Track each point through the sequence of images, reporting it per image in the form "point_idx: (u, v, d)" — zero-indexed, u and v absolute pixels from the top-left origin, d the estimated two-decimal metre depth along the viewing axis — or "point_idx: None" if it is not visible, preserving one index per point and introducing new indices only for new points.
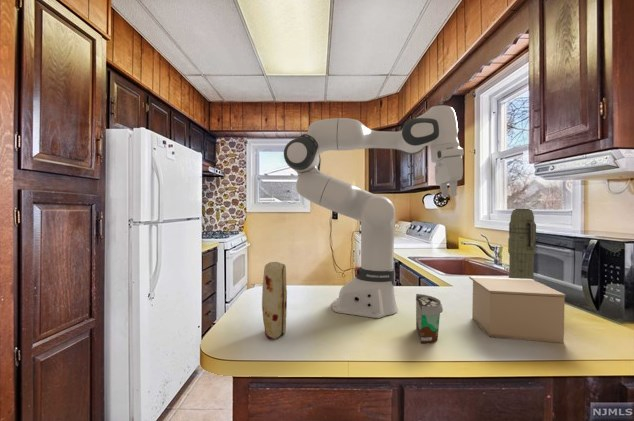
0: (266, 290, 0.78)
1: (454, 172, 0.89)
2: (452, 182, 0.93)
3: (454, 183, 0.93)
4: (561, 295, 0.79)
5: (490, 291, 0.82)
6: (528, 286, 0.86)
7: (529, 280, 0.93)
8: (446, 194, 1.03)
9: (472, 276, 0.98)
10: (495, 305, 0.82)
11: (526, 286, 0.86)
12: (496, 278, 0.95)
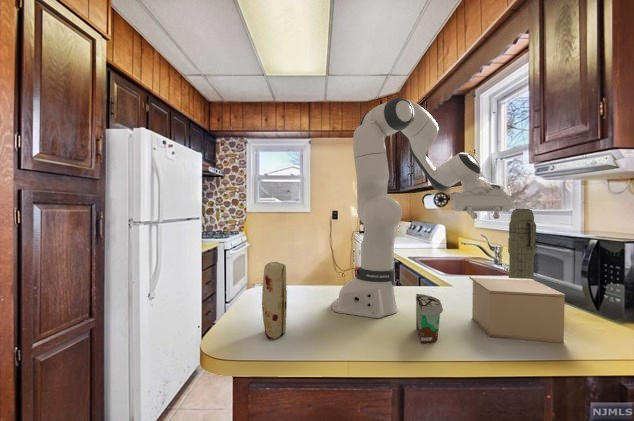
0: (266, 290, 0.78)
1: None
2: None
3: None
4: (561, 295, 0.79)
5: (490, 291, 0.82)
6: (528, 286, 0.86)
7: (529, 280, 0.93)
8: None
9: (472, 276, 0.98)
10: (495, 305, 0.82)
11: (526, 286, 0.86)
12: (496, 278, 0.95)
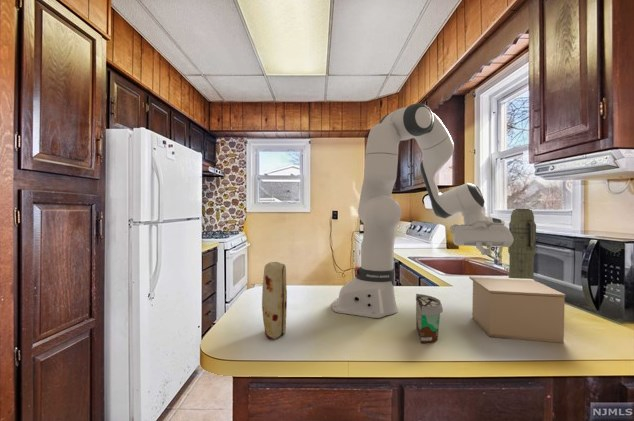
0: (266, 290, 0.78)
1: None
2: None
3: None
4: (561, 295, 0.79)
5: (490, 291, 0.82)
6: (528, 286, 0.86)
7: (529, 280, 0.93)
8: None
9: (472, 276, 0.98)
10: (495, 305, 0.82)
11: (526, 286, 0.86)
12: (496, 278, 0.95)
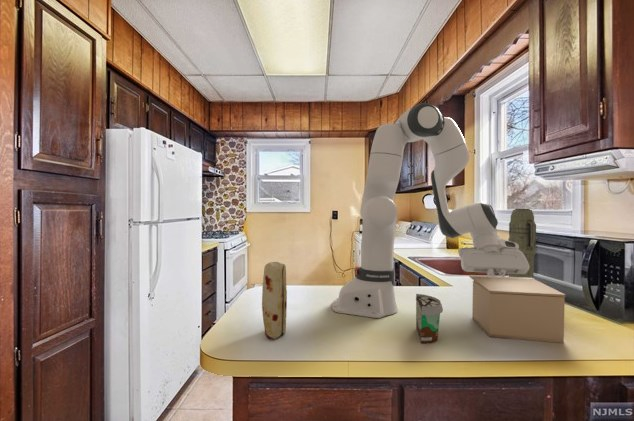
0: (266, 290, 0.78)
1: None
2: None
3: None
4: (561, 295, 0.79)
5: (490, 291, 0.82)
6: (528, 285, 0.86)
7: (529, 279, 0.93)
8: None
9: (472, 275, 0.98)
10: (495, 305, 0.82)
11: (526, 285, 0.86)
12: (496, 277, 0.95)
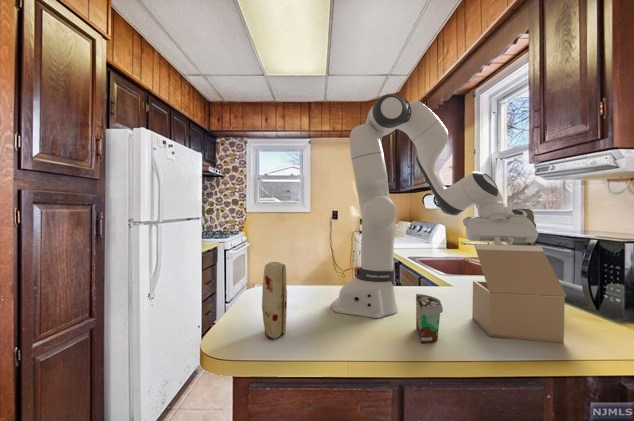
0: (266, 290, 0.78)
1: None
2: None
3: None
4: (562, 296, 0.78)
5: (491, 292, 0.81)
6: (533, 272, 0.84)
7: (537, 251, 0.89)
8: None
9: (478, 244, 0.93)
10: (495, 305, 0.82)
11: (530, 272, 0.84)
12: (503, 248, 0.91)
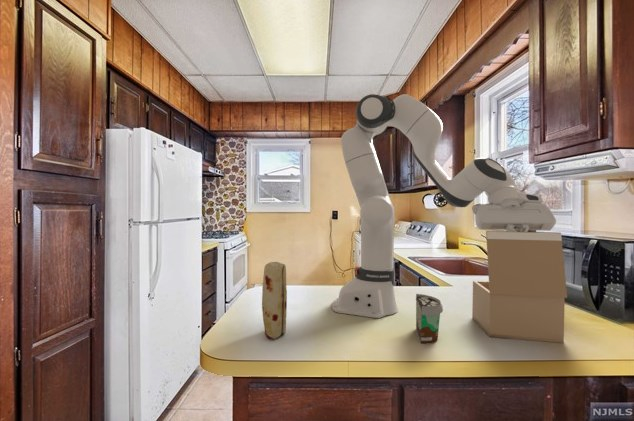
0: (266, 290, 0.78)
1: None
2: None
3: None
4: None
5: None
6: (541, 269, 0.80)
7: (555, 240, 0.81)
8: None
9: (490, 232, 0.84)
10: (495, 305, 0.82)
11: (538, 269, 0.80)
12: (517, 237, 0.82)
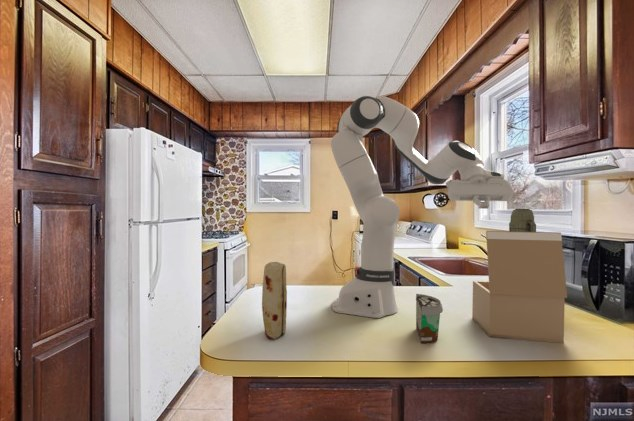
0: (266, 290, 0.78)
1: None
2: None
3: None
4: None
5: None
6: (541, 269, 0.80)
7: (555, 240, 0.81)
8: None
9: (490, 232, 0.84)
10: (495, 305, 0.82)
11: (539, 269, 0.80)
12: (517, 237, 0.82)
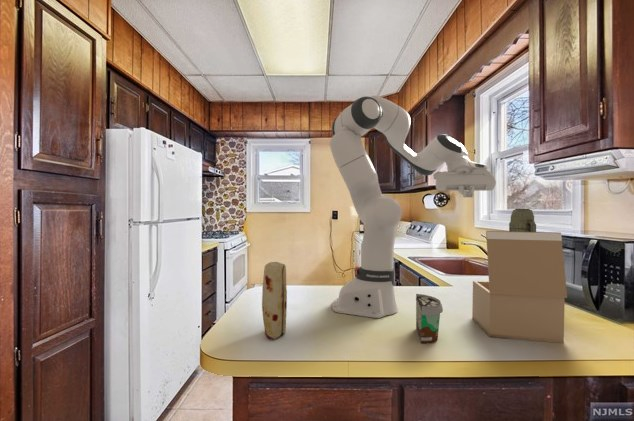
0: (266, 290, 0.78)
1: None
2: None
3: None
4: None
5: None
6: (541, 269, 0.80)
7: (555, 240, 0.81)
8: None
9: (490, 232, 0.84)
10: (495, 305, 0.82)
11: (539, 269, 0.80)
12: (517, 237, 0.82)
